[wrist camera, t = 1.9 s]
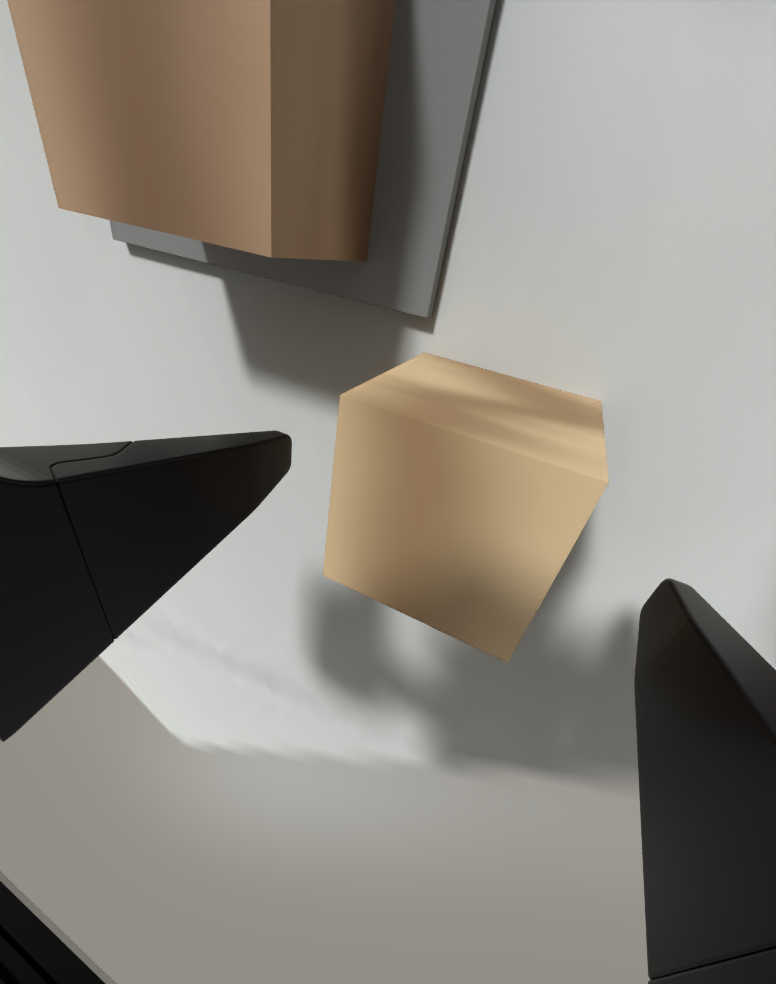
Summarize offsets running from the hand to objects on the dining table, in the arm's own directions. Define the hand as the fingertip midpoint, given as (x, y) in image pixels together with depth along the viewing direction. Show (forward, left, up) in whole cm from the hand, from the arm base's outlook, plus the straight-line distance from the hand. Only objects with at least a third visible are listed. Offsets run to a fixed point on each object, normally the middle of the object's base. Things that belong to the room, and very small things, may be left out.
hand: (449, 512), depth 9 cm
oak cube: (0, 0, -4) cm, 4 cm away
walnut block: (+8, -7, -3) cm, 11 cm away
